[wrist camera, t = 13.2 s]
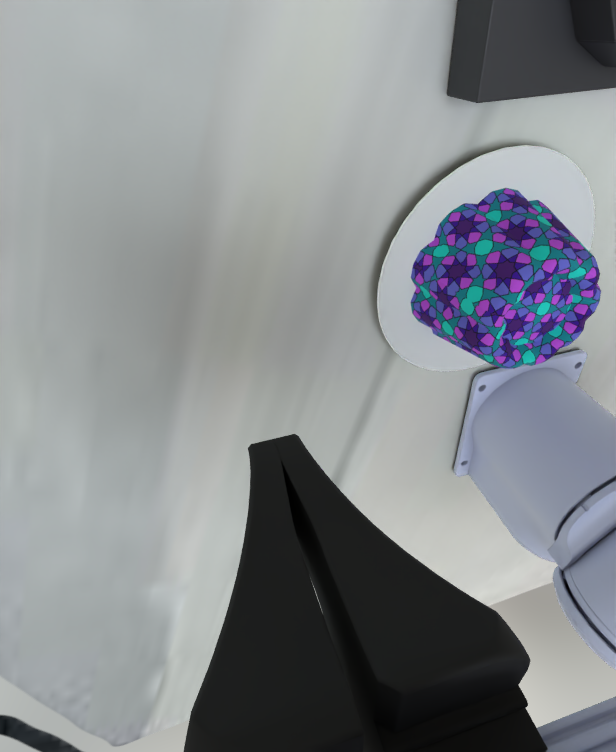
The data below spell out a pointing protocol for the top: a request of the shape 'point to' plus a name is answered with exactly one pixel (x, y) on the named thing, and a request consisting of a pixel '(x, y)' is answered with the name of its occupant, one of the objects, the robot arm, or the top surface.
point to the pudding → (493, 264)
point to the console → (532, 48)
